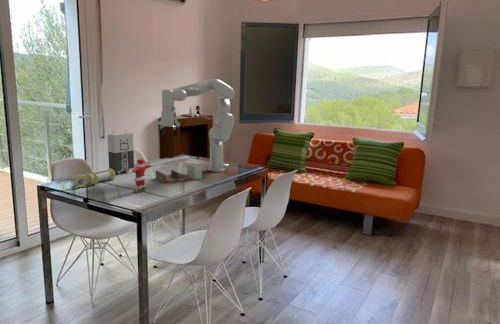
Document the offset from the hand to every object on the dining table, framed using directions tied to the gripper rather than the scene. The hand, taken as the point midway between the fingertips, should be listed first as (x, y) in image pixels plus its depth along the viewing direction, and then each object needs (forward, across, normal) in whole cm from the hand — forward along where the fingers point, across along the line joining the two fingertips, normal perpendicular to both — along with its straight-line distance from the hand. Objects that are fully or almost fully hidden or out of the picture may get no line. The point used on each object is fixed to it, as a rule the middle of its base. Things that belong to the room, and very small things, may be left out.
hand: (169, 135), depth 244 cm
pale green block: (+28, -14, -8) cm, 32 cm away
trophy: (+28, +27, +39) cm, 55 cm away
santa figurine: (+28, -8, +38) cm, 48 cm away
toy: (+28, +35, +7) cm, 46 cm away
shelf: (+28, -6, +5) cm, 29 cm away
